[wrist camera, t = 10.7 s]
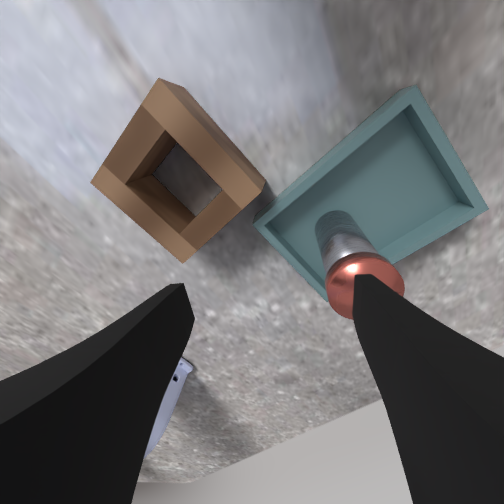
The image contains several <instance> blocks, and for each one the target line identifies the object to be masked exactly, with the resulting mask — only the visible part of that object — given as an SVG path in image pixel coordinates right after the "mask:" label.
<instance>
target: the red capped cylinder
mask: <svg viewBox="0 0 504 504" xmlns="http://www.w3.org/2000/svg"><path fill="white" fill-rule="evenodd" d="M315 236H316V239H317V243H318V247H319V250H320V254H321V258H322V262H323V265H324V269H325V273H326V277H325V288H326V292H327V296H328V300H329V303H330V305H331V307H332V308H333V309H334V310H335V311H336V312H337V313H338V314H340V315H341V316H343V317H345V318H348V319H352V320H353V316H352V310H353V293H354V276H355V275H357V274H372V275H374V276H375V277H376V278H378V279H379V280H381V281H382V282H383V283H384V284H386V285H387V286H388V287H390V288H391V289H392V290H394V291H395V292H397V293H398V294H399V295H401V296H402V297H403V295H404V290H405V287H404V281H403V279H402V277H401V275H400V274H399V273H398V271H397V270H396V269H395V268H394V266H393V265H392V264H391V262H390V261H389V260H388V259H386V258H385V257H383V256H381V255H379V253H378V252H377V251H376V249H375V248H374V246H373V245H372V244H371V242H370V241H369V240H368V238H367V237H366V235H365V234H364V233H363V231H362V230H361V229H360V227H359V226H358V224H357V223H356V222H355V220H354V219H353V218H352V216H351V215H350V214H348V213H347V212H344V211H340V210H334V211H330V212H327V213H325V214H324V215H322V216H321V217H320V218H319V219H318V221H317V223H316V225H315Z"/></svg>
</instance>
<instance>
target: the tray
mask: <svg viewBox="0 0 504 504" xmlns="http://www.w3.org/2000/svg"><path fill="white" fill-rule="evenodd" d="M488 209H489V208H488V206H487V205H486V203H485V201H484V199H483V198H482V196H481V194H480V193H479V191H478V189H477V187H476V186H475V184H474V182H473V181H472V179H471V177H470V176H469V174H468V172H467V170H466V169H465V167H464V165H463V164H462V162H461V160H460V159H459V157H458V155H457V153H456V152H455V150H454V148H453V147H452V145H451V143H450V142H449V140H448V138H447V136H446V135H445V133H444V131H443V130H442V128H441V126H440V124H439V123H438V121H437V119H436V118H435V116H434V114H433V113H432V111H431V109H430V107H429V106H428V104H427V102H426V101H425V99H424V97H423V96H422V94H421V92H420V90H419V89H418V87H417V85H413V86H410V87H407V88H404V89H401V90H399V91H398V92H397V93H396V94H395V95H393V96H392V97H391V98H390V99H389V100H388V101H387V102H385V103H384V104H383V105H382V106H381V107H380V108H379V109H377V110H376V111H375V112H374V113H373V114H372V115H371V116H369V117H368V118H367V119H366V120H365V121H364V122H362V123H361V124H360V125H359V126H358V127H357V128H356V129H354V130H353V131H352V132H351V133H350V134H349V135H348V136H346V137H345V138H344V139H343V140H342V141H341V142H340V143H338V144H337V145H336V146H335V147H334V148H333V149H331V150H330V151H329V152H328V153H327V154H326V155H325V156H323V157H322V158H321V159H320V160H319V161H318V162H317V163H315V164H314V165H313V166H312V167H311V168H310V169H309V170H307V171H306V172H305V173H304V174H303V175H302V176H301V177H299V178H298V179H297V180H296V181H295V182H294V183H292V184H291V185H290V186H289V187H288V188H287V189H286V190H284V191H283V192H282V193H281V194H280V195H279V196H278V197H276V198H275V199H274V200H273V201H272V202H271V203H270V204H268V205H267V206H266V207H265V208H264V209H263V210H261V211H260V212H259V213H258V214H257V215H256V216H255V218H254V221H253V224H252V225H253V226H254V227H255V228H256V229H257V230H258V231H259V232H260V233H261V234H262V235H263V236H264V237H265V239H266V240H267V241H268V242H269V243H270V244H271V245H272V246H273V247H274V248H275V249H276V250H277V251H278V252H279V253H280V254H281V255H282V256H283V257H284V258H285V259H286V260H287V261H288V262H289V263H290V264H291V265H292V266H293V267H294V269H295V270H296V271H297V272H298V273H299V274H300V275H301V276H302V277H303V278H304V279H305V280H306V281H307V282H308V283H309V284H310V285H311V286H312V287H313V288H314V289H315V290H316V291H317V292H318V293H319V294H320V295H321V296H322V298H323V299H324V300H325V301H326V302H328V301H329V300H328V296H327V292H326V288H325V277H326V273H325V269H324V265H323V262H322V258H321V254H320V250H319V247H318V243H317V239H316V236H315V225H316V223H317V221H318V219H319V218H320V217H321V216H322V215H324V214H325V213H327V212H330V211H334V210H340V211H344V212H347V213H348V214H350V215H351V216H352V218H353V219H354V220H355V222H356V223H357V224H358V226H359V227H360V229H361V230H362V231H363V233H364V234H365V235H366V237H367V238H368V240H369V241H370V242H371V244H372V245H373V246H374V248H375V249H376V251H377V252H378V253H379V255H381V256H383V257H385V258H386V259H388V260H389V261H390V262H391V264H392V265H393V264H394V263H396V262H398V261H399V260H401V259H403V258H405V257H406V256H408V255H410V254H412V253H413V252H415V251H417V250H419V249H420V248H422V247H424V246H426V245H427V244H429V243H431V242H433V241H434V240H436V239H438V238H439V237H441V236H443V235H445V234H446V233H448V232H450V231H452V230H453V229H455V228H457V227H459V226H460V225H462V224H464V223H466V222H467V221H469V220H471V219H473V218H474V217H476V216H478V215H479V214H481V213H483V212H485V211H486V210H488Z"/></svg>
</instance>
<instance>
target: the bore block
mask: <svg viewBox="0 0 504 504" xmlns="http://www.w3.org/2000/svg"><path fill="white" fill-rule="evenodd" d="M177 142H178V143H179V144H180V145H181V146H182V147H183V148H184V150H185V151H186V152H187V153H188V154H189V155H190V156H191V157H192V158H193V159H194V160H195V161H196V162H197V163H198V164H199V165H200V166H201V167H202V168H203V169H204V170H205V171H206V172H207V173H208V175H209V176H210V177H211V178H212V179H213V180H214V181H215V182H216V183H217V184H218V185H219V186H220V187H221V188H222V189H223V190H222V191H221V192H220V193H219V194H218V195H217V196H216V197H215V198H214V199H213V200H212V201H211V202H210V203H209V204H208V205H207V206H206V207H205V208H204V209H203V210H202V211H201V212H200V213H199V214H198V215H197V216H195V215H193V214H192V213H191V212H190V211H189V210H188V209H187V208H186V207H185V206H184V205H183V204H182V203H181V202H180V201H179V200H178V199H177V198H176V197H175V196H174V195H173V194H172V193H171V192H170V191H169V190H167V189H166V188H165V187H164V186H163V185H162V184H161V183H160V182H159V181H158V180H157V179H156V178H155V177H154V176H153V175H152V174H153V173H154V171H155V170H156V169H157V167H158V166H159V165H160V164H161V162H162V161H163V160H164V159H165V157H166V156H167V155H168V153H169V152H170V151H171V150H172V148H173V147H174V146H175V145H176V143H177ZM265 181H266V180H265V178H264V177H263V176H262V175H261V174H260V173H259V172H258V170H257V169H256V168H255V167H254V166H253V165H252V164H251V163H250V161H249V160H248V159H247V158H246V157H245V156H244V155H243V153H242V152H241V151H240V150H239V149H238V148H237V147H236V146H235V144H234V143H233V142H232V141H231V140H230V139H229V138H228V137H227V135H226V134H225V133H224V132H223V131H222V130H221V129H220V127H219V126H218V125H217V124H216V123H215V122H214V121H213V120H212V118H211V117H210V116H209V115H208V114H207V113H206V112H205V111H204V109H203V108H202V107H201V106H200V105H199V104H198V103H197V101H196V100H195V99H194V98H193V97H192V96H191V95H190V94H189V92H188V91H187V90H186V89H185V88H184V87H182V86H179V85H176V84H174V83H171V82H168V81H166V80H163V79H160V78H158V79H157V81H156V82H155V84H154V85H153V87H152V88H151V90H150V92H149V93H148V95H147V96H146V98H145V99H144V101H143V102H142V104H141V105H140V107H139V108H138V110H137V112H136V113H135V115H134V116H133V118H132V119H131V121H130V122H129V124H128V125H127V127H126V128H125V130H124V132H123V133H122V135H121V136H120V138H119V139H118V141H117V142H116V144H115V145H114V147H113V148H112V150H111V151H110V153H109V155H108V156H107V158H106V159H105V161H104V162H103V164H102V165H101V167H100V168H99V170H98V171H97V173H96V175H95V176H94V178H93V179H92V181H91V182H90V183H91V184H92V185H94V186H95V187H96V188H97V189H98V190H99V191H100V192H101V193H103V194H104V195H105V196H106V197H107V198H108V199H109V200H111V201H112V202H113V203H114V204H115V205H116V206H117V207H119V208H120V209H121V210H122V211H123V212H124V213H125V214H127V215H128V216H129V217H130V218H131V219H132V220H133V221H135V222H136V223H137V224H138V225H139V226H140V227H141V228H143V229H144V230H145V231H146V232H147V233H148V234H149V235H151V236H152V237H153V238H154V239H155V240H156V241H157V242H159V243H160V244H161V245H162V246H163V247H164V248H165V249H167V250H168V251H169V252H170V253H171V254H172V255H173V256H175V257H176V258H177V259H178V260H179V261H180V262H181V263H184V262H185V261H186V260H188V259H189V258H190V257H191V256H192V255H193V254H194V253H195V252H196V251H197V250H198V249H200V248H201V247H202V246H203V245H204V244H205V243H206V242H207V241H208V240H209V239H211V238H212V237H213V236H214V235H215V234H216V233H217V232H218V231H219V230H220V229H221V228H223V227H224V226H225V225H226V224H227V223H228V222H229V221H230V220H231V219H232V218H234V217H235V216H236V215H237V214H238V213H239V212H240V211H241V210H242V209H243V208H244V207H246V206H247V205H248V204H249V203H250V202H251V201H252V200H253V199H254V198H255V197H257V196H258V195H259V194H260V193H261V192H262V190H263V187H264V184H265Z"/></svg>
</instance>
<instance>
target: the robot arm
mask: <svg viewBox="0 0 504 504" xmlns="http://www.w3.org/2000/svg"><path fill="white" fill-rule="evenodd" d="M352 316H353V320H354V324H355V328H356V332H357V335H358V339H359V341H360V344H361V346H362V349H363V351H364V354H365V356H366V359H367V361H368V364H369V366H370V369H371V371H372V374H373V376H374V379H375V381H376V384H377V386H378V389H379V391H380V393H381V396H382V399H383V402H384V404H385V407H386V410H387V413H388V417H389V420H390V423H391V427H392V430H393V433H394V437H395V440H396V444H397V447H398V451H399V454H400V458H401V461H402V465H403V468H404V472H405V475H406V479H407V482H408V486H409V490H410V493H411V497H412V501H413V504H504V357H502V356H500V355H498V354H496V353H494V352H492V351H490V350H488V349H486V348H484V347H483V346H481V345H479V344H477V343H475V342H474V341H472V340H470V339H468V338H466V337H464V336H463V335H461V334H459V333H457V332H456V331H454V330H452V329H451V328H449V327H447V326H445V325H444V324H442V323H441V322H439V321H438V320H436V319H434V318H433V317H431V316H430V315H428V314H427V313H425V312H424V311H422V310H421V309H419V308H418V307H416V306H415V305H413V304H412V303H410V302H409V301H408V300H406V299H405V298H403V297H402V296H401V295H399V294H398V293H397V292H395V291H394V290H392V289H391V288H390V287H388V286H387V285H386V284H384V283H383V282H382V281H381V280H379V279H378V278H376V277H375V276H374V275H372V274H357V275H355V276H354V293H353V310H352ZM194 320H195V317H194V314H193V311H192V308H191V305H190V302H189V298H188V295H187V292H186V289H185V286H184V283H179V284H170V285H168V286H166V287H165V288H163V289H162V290H160V291H159V292H157V293H156V294H154V295H153V296H152V297H150V298H149V299H147V300H146V301H144V302H143V303H142V304H140V305H139V306H137V307H136V308H134V309H133V310H132V311H130V312H129V313H127V314H126V315H124V316H123V317H121V318H120V319H118V320H116V321H115V322H113V323H112V324H110V325H109V326H107V327H106V328H104V329H103V330H101V331H99V332H98V333H96V334H94V335H93V336H91V337H89V338H87V339H86V340H84V341H82V342H80V343H79V344H77V345H75V346H73V347H71V348H69V349H67V350H65V351H63V352H61V353H59V354H57V355H55V356H53V357H51V358H49V359H47V360H45V361H43V362H41V363H39V364H37V365H35V366H33V367H31V368H29V369H27V370H24V371H22V372H20V373H18V374H15V375H13V376H11V377H8V378H6V379H4V380H1V381H0V504H131V503H132V499H133V494H134V490H135V487H136V484H137V480H138V476H139V473H140V469H141V466H142V462H143V459H144V458H145V457H146V456H147V455H148V454H149V453H150V452H151V451H152V450H153V449H154V447H155V446H156V444H157V443H158V441H159V440H160V438H161V437H162V435H163V433H164V431H165V429H166V427H167V425H168V423H169V421H170V418H171V416H172V413H173V410H174V408H175V405H176V403H177V400H178V398H179V395H180V393H181V390H182V388H183V385H184V383H185V380H186V378H187V375H188V373H189V372H191V371H192V370H193V366H192V365H191V364H190V363H188V362H187V361H186V360H184V359H183V358H182V357H181V356H182V354H183V352H184V350H185V347H186V345H187V343H188V340H189V338H190V334H191V331H192V328H193V324H194Z"/></svg>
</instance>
